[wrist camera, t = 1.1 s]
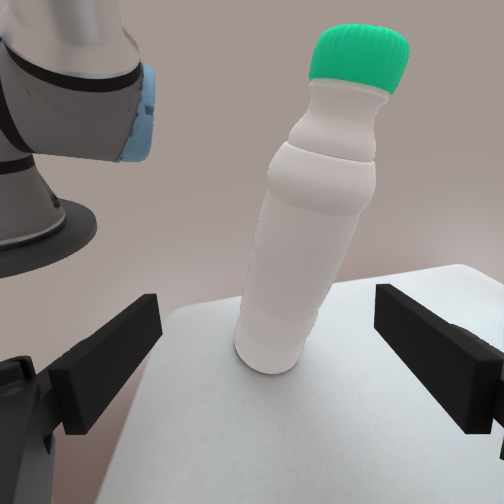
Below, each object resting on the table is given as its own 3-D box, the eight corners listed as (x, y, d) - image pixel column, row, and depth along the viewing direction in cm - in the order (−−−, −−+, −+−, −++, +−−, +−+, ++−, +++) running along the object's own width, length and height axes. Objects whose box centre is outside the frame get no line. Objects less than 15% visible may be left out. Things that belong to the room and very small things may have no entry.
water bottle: (286, 318, 29) (379, 60, 16) (309, 374, 23) (484, 40, 10) (229, 320, 27) (281, 31, 14) (238, 381, 21) (338, -14, 8)
